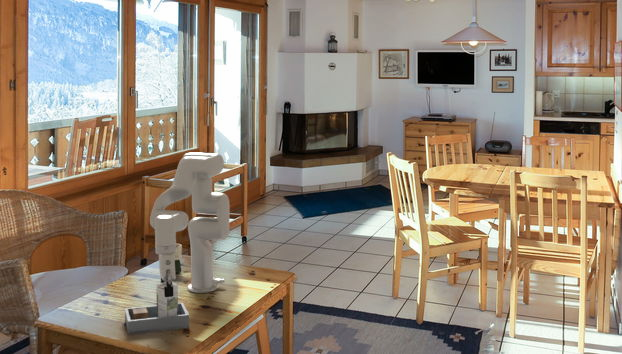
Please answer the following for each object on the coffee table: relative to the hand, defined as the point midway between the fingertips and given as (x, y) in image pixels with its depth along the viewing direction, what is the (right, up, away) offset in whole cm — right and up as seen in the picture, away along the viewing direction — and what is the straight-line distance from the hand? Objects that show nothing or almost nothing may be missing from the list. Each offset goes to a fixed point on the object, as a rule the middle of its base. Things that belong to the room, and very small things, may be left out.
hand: (167, 292), depth 266 cm
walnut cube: (-10, -11, -2) cm, 15 cm away
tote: (-4, -12, 0) cm, 13 cm away
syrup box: (0, -11, +2) cm, 11 cm away
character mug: (-10, -1, +64) cm, 65 cm away
